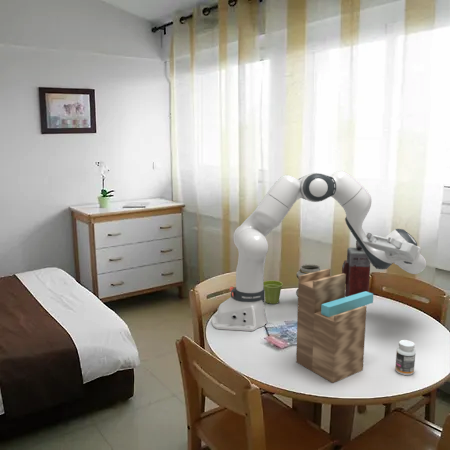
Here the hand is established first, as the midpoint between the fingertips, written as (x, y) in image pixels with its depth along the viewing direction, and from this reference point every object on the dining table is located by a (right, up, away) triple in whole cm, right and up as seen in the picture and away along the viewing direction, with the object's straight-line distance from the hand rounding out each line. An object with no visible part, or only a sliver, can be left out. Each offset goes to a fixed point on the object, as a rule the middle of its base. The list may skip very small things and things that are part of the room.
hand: (378, 237), depth 167 cm
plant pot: (-32, -31, +49) cm, 66 cm away
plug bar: (-14, -23, -12) cm, 29 cm away
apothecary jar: (-16, -32, +45) cm, 57 cm away
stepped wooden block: (-20, -42, -8) cm, 48 cm away
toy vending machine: (+5, -30, +52) cm, 60 cm away
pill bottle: (+4, -43, -13) cm, 46 cm away
